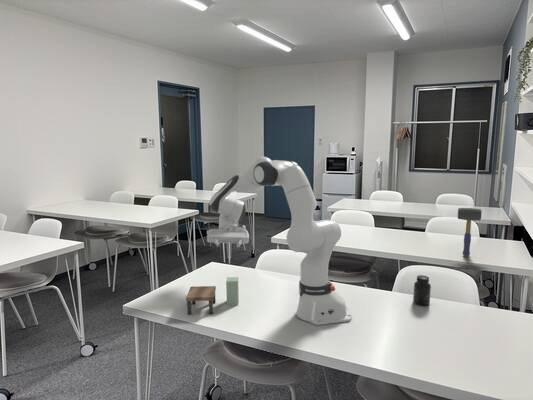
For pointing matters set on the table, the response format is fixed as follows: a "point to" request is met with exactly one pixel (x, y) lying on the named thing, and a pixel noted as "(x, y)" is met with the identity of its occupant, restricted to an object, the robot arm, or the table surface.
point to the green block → (232, 290)
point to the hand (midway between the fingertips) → (228, 245)
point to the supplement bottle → (422, 291)
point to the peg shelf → (201, 296)
